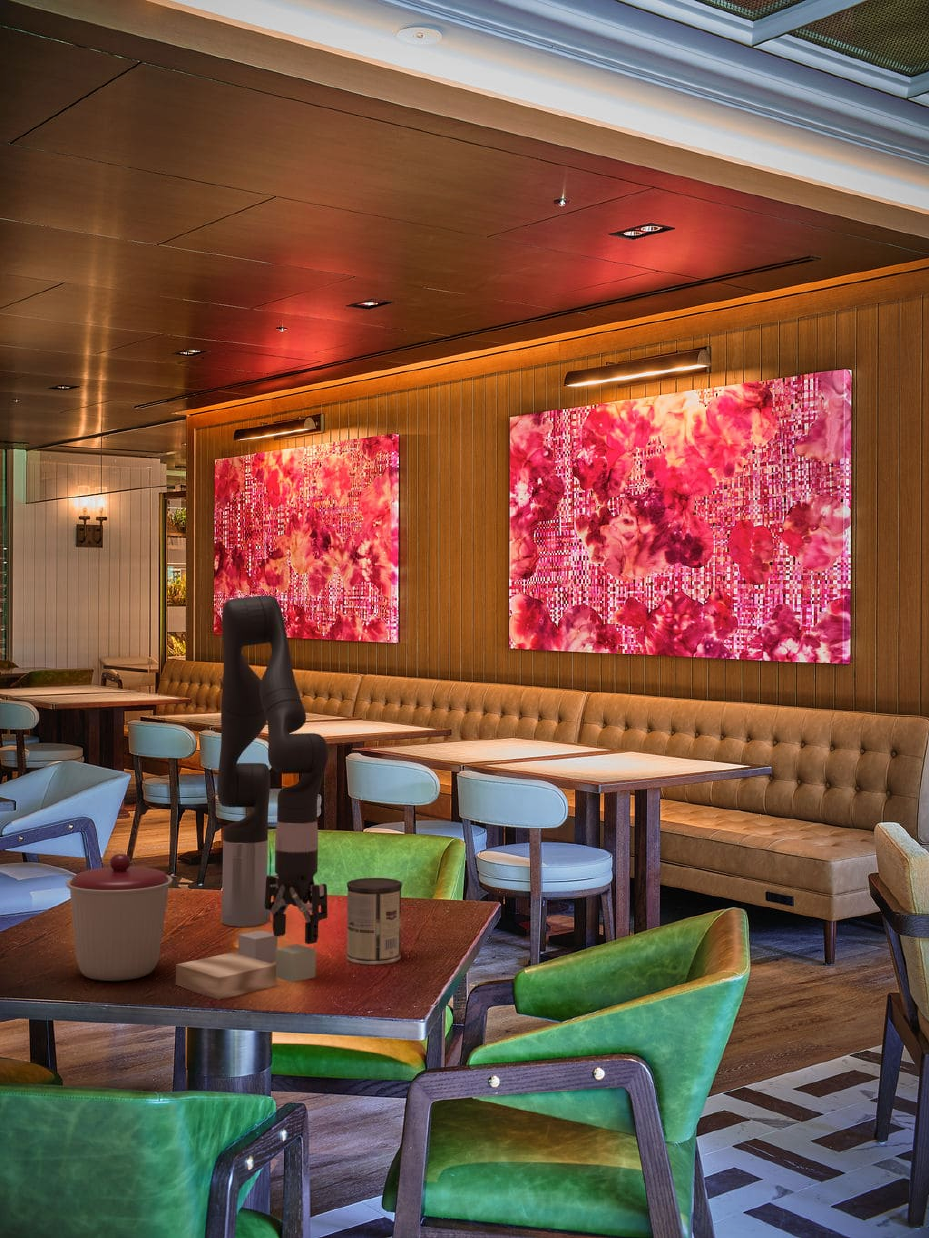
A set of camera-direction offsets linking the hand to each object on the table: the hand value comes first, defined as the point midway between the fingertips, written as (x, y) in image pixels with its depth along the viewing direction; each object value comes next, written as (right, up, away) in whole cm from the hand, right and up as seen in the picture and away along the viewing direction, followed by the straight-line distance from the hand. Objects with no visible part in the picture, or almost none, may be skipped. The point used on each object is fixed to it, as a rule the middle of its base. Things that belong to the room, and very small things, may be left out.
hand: (294, 939), depth 221 cm
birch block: (-11, -7, -6) cm, 14 cm away
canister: (-31, -6, 0) cm, 32 cm away
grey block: (-8, -7, +10) cm, 15 cm away
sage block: (0, -7, 0) cm, 7 cm away
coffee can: (+13, -7, +14) cm, 20 cm away
